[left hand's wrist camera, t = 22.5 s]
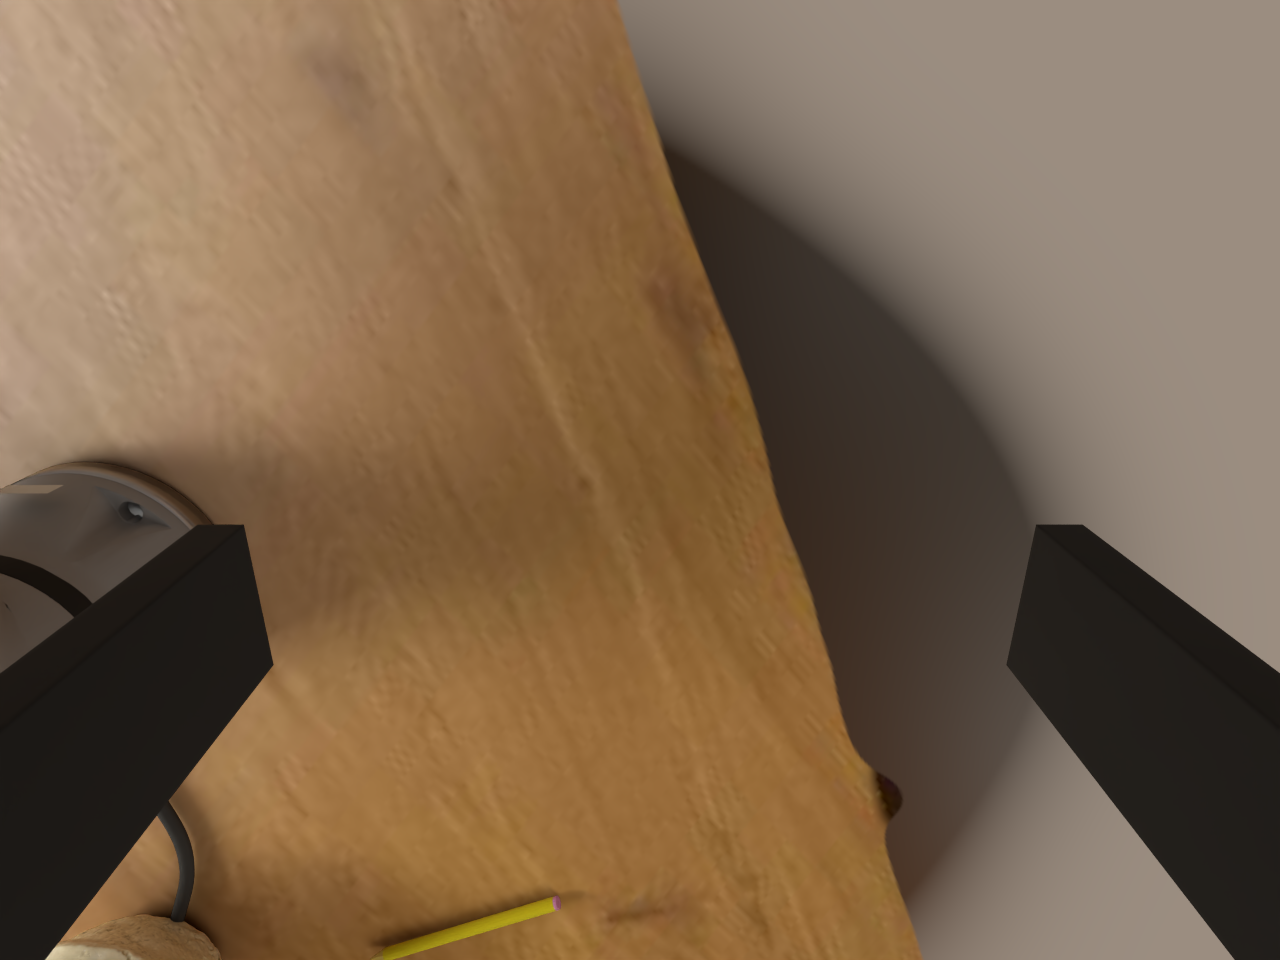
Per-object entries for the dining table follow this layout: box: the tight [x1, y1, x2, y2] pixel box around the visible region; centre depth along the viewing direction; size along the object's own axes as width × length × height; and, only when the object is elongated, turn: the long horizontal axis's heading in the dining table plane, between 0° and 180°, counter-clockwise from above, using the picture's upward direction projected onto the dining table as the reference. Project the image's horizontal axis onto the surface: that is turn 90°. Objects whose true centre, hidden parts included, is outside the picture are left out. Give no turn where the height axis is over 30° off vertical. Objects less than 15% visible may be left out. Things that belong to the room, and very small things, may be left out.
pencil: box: [371, 896, 561, 960], centre depth 58 cm, size 16×1×1 cm, turn 112°
